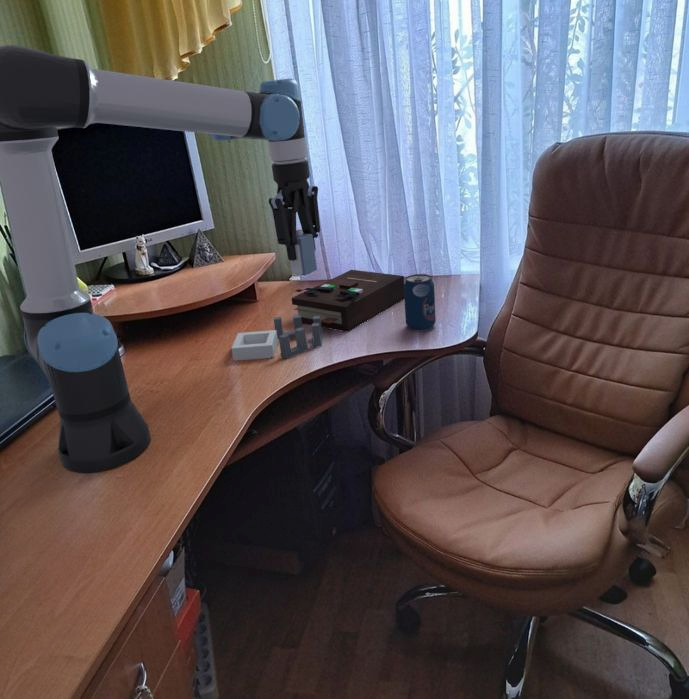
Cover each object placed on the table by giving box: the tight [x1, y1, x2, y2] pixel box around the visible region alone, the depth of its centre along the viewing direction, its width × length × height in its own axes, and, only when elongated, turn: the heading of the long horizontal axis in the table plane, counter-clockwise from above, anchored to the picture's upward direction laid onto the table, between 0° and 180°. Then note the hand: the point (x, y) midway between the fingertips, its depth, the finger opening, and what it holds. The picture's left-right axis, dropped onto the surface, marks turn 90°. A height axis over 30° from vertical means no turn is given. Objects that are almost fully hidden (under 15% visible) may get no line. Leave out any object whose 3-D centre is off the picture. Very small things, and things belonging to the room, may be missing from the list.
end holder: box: [230, 329, 279, 362], centre depth 150 cm, size 9×9×3 cm
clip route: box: [273, 314, 324, 360], centre depth 150 cm, size 11×14×5 cm
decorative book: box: [290, 269, 405, 333], centre depth 169 cm, size 19×8×30 cm
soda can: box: [404, 273, 437, 332], centre depth 153 cm, size 7×7×12 cm
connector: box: [288, 228, 318, 276], centre depth 143 cm, size 4×4×9 cm
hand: (304, 270), depth 144 cm, fingers closed on connector, 4 cm apart
